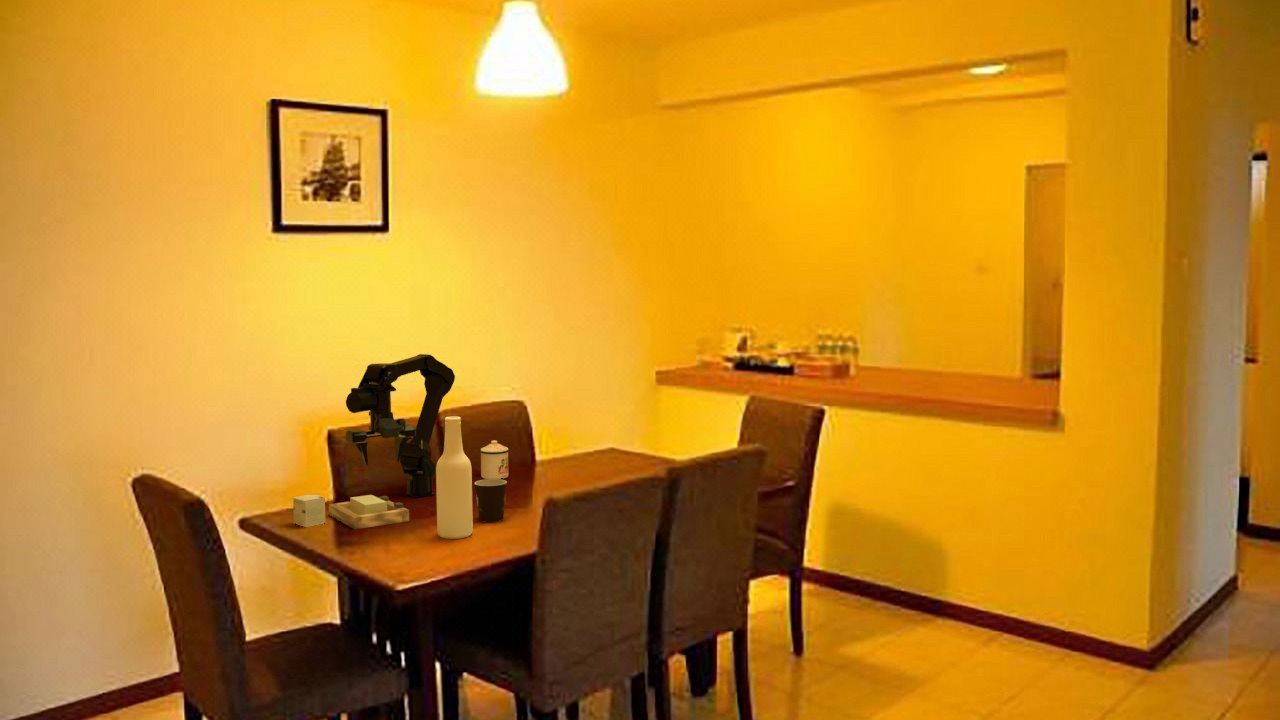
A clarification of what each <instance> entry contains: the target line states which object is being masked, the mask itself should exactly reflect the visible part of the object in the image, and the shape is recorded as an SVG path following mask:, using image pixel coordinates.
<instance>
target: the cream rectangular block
mask: <svg viewBox="0 0 1280 720" xmlns="http://www.w3.org/2000/svg"><path fill="white" fill-rule="evenodd" d="M349 498H350V501H349V502H350V504H351V512H353V513H355V514H357V515H365V514H372V513H379V512H385V511H387V502H386V501H384V500H382V499H380V498H378V496H375V495H373V494H367V495H366V494H365V495H360V496H353V497H352V496H351V497H349Z"/></svg>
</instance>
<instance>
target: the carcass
mask: <svg viewBox="0 0 1280 720" xmlns="http://www.w3.org/2000/svg"><path fill="white" fill-rule="evenodd" d="M377 498H380V499H382V500H384V501H386V502H387V511H385V512H379V513H372V514H365V515H357V514H355V513H353V512H351V504H350V501H344V502H343V501H342V502H336V503H330V504H328V515H329V516H330V517H331V516H332V518H333V517H334V518H333V519H335V518H336V519H335V520H337V521H339V522H340V521H341V522H340V523H343V524H344V525H346V526H348V527H349V528H352V529H353V530H359V529H366V528H372V527H379V526H386V525H392V524H399V523H405V522H410V509H408V508H406V507H404V503H403V502H393V501H391V500H390V499H389V496H387V495H382V496H379V497H378V496H377Z"/></svg>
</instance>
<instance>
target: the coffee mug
mask: <svg viewBox="0 0 1280 720" xmlns="http://www.w3.org/2000/svg"><path fill="white" fill-rule="evenodd" d="M473 484H474V491H475V499H476V506H477V512H478V521H480V520H481V521H480V522H482V521H486V522H485V523H494V522H493V521H498V522H500V521H499V520H501V521H503V520H504V518H505V517H504V516H505V515H504V514H505V505H506V495H507V485H508V481H507V480H504V479H480V480H476V481H475V482H474V483H473ZM502 519H503V520H502Z"/></svg>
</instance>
